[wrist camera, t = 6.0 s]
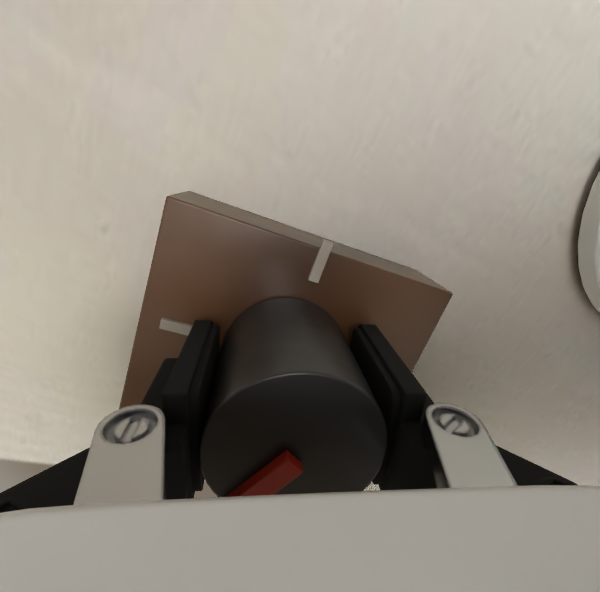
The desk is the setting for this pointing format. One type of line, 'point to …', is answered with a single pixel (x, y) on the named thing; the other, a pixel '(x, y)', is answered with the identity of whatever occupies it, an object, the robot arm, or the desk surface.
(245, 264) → the dial panel
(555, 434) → the desk surface
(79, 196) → the desk surface
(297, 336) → the dial knob
